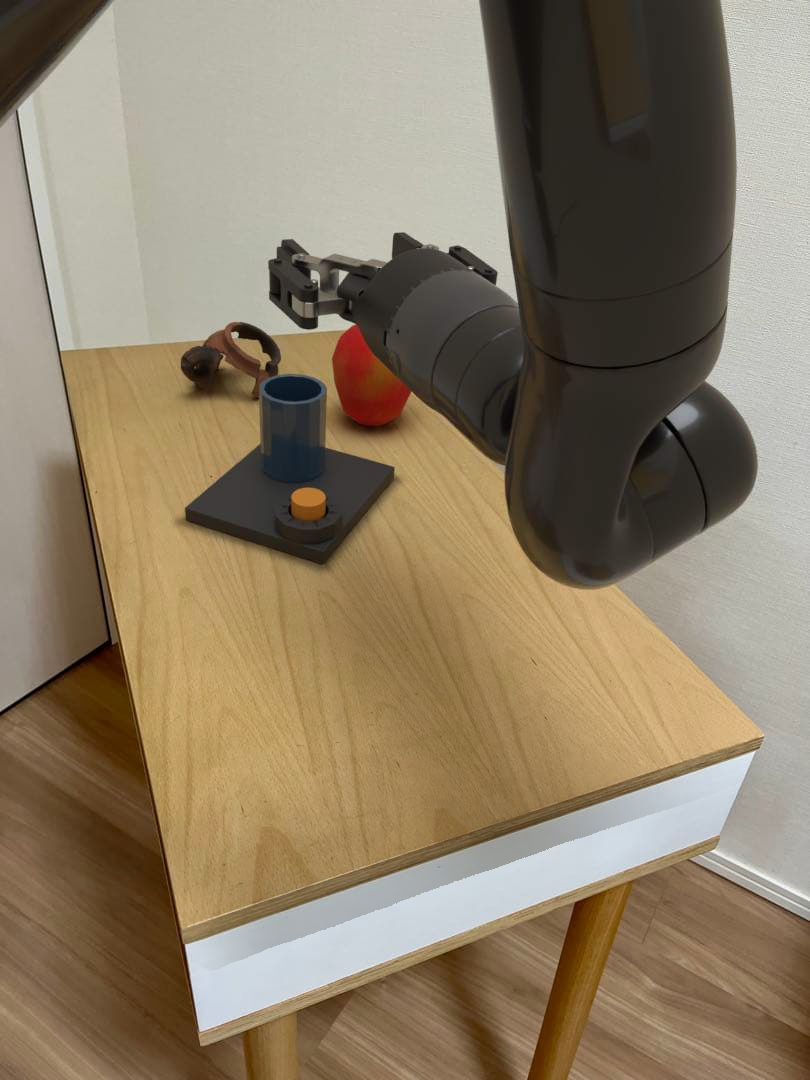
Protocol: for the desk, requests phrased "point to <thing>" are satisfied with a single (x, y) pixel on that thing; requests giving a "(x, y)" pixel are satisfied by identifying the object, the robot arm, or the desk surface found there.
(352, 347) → the apple
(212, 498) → the scale
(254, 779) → the desk surface
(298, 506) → the button
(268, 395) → the cup
